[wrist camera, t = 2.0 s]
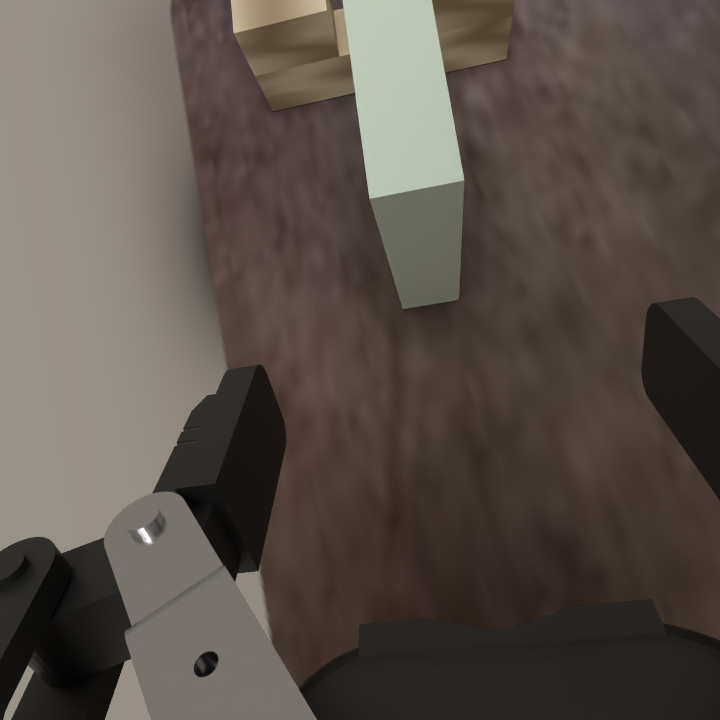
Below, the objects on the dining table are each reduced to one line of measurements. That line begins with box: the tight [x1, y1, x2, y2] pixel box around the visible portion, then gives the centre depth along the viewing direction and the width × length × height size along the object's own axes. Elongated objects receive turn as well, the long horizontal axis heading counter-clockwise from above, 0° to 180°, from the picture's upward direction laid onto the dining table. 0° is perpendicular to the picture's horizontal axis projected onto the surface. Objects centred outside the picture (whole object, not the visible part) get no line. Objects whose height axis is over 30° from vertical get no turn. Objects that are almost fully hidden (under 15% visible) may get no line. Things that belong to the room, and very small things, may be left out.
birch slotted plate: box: [231, 0, 514, 111], centre depth 29 cm, size 14×3×6 cm, turn 97°
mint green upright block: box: [343, 0, 464, 309], centre depth 24 cm, size 9×3×12 cm, turn 7°
